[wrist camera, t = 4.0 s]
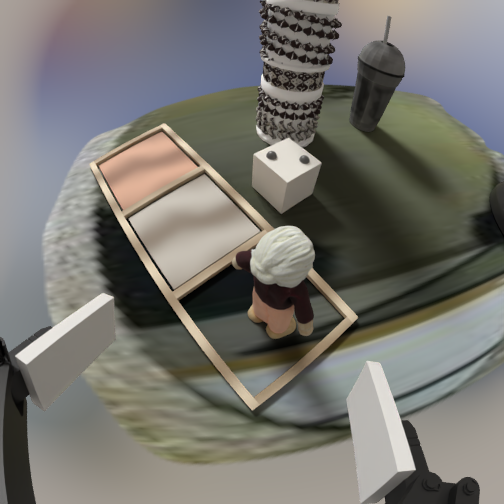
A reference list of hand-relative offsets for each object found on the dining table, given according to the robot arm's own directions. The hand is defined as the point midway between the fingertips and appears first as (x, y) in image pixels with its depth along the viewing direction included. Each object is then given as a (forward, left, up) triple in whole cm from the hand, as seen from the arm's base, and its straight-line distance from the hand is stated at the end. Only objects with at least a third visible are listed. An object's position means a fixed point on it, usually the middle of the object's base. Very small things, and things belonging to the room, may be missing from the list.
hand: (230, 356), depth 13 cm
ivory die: (+4, -20, -11) cm, 23 cm away
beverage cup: (-2, -41, -11) cm, 42 cm away
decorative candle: (+8, -31, -11) cm, 34 cm away
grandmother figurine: (0, -6, -11) cm, 12 cm away
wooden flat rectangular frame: (+11, -11, -11) cm, 19 cm away
